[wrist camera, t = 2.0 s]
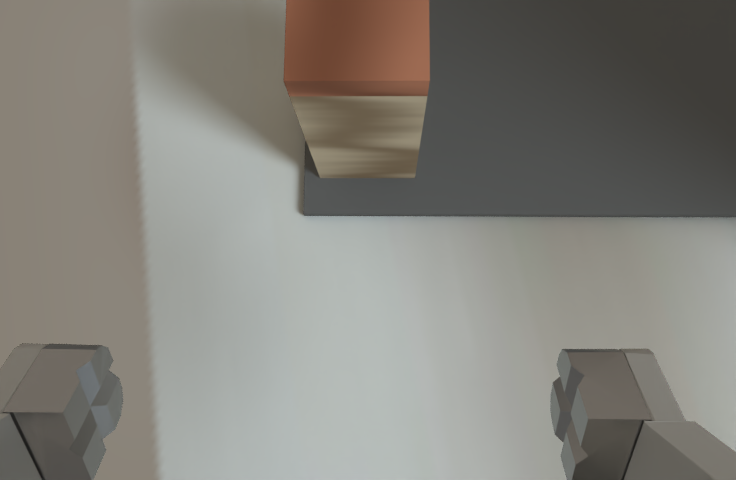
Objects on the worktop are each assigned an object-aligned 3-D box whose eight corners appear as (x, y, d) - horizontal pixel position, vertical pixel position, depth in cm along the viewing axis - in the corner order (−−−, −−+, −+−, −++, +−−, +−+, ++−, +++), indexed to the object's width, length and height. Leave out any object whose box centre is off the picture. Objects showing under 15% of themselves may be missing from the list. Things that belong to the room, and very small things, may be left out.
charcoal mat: (731, -191, 34) (735, -197, 34) (773, 217, 30) (778, 215, 30) (315, -184, 35) (314, -191, 34) (304, 215, 31) (303, 213, 30)
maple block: (414, 88, 31) (428, -53, 21) (414, 178, 31) (429, 80, 20) (322, 88, 32) (288, -51, 21) (320, 178, 31) (283, 80, 20)
